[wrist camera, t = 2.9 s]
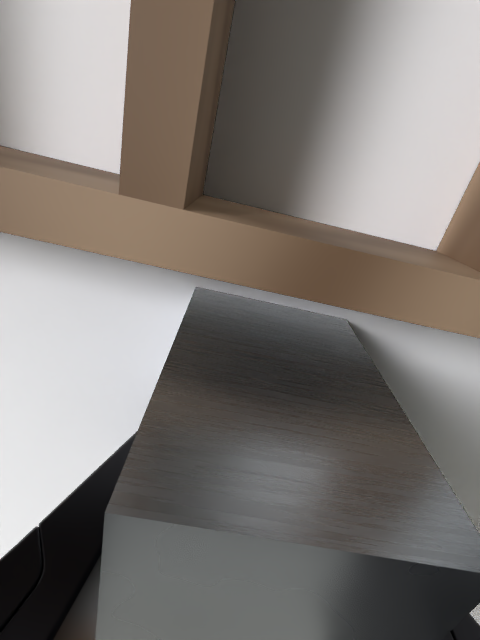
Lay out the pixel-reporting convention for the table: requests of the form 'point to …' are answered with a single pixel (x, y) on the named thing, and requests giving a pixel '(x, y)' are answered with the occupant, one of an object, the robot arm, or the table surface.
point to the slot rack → (221, 215)
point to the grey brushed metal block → (280, 494)
